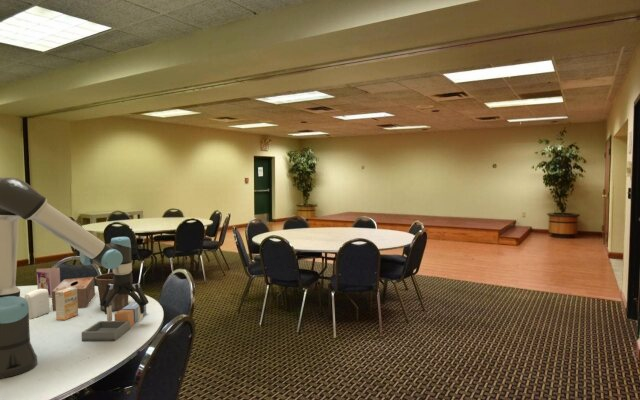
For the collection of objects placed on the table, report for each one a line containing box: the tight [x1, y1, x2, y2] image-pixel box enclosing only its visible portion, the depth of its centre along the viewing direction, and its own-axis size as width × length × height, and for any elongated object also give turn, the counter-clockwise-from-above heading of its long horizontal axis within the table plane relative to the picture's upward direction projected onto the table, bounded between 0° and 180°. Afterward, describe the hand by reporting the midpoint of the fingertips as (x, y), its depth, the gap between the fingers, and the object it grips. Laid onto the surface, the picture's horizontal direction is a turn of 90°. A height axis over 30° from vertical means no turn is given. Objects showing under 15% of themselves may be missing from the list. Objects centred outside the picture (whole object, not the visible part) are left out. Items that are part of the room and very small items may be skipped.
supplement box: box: [55, 288, 79, 321], centre depth 193 cm, size 8×5×13 cm, turn 168°
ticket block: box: [121, 300, 147, 324], centre depth 191 cm, size 12×6×6 cm, turn 179°
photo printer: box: [24, 288, 51, 320], centre depth 197 cm, size 10×4×12 cm, turn 162°
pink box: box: [36, 267, 61, 299], centre depth 231 cm, size 11×7×15 cm, turn 67°
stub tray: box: [81, 320, 131, 342], centre depth 171 cm, size 13×13×4 cm
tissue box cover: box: [51, 276, 96, 312], centre depth 218 cm, size 26×14×10 cm, turn 20°
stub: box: [114, 310, 135, 327], centre depth 182 cm, size 5×6×6 cm
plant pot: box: [94, 272, 129, 312], centre depth 207 cm, size 16×16×16 cm
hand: (125, 321), depth 182 cm, fingers open, 13 cm apart
